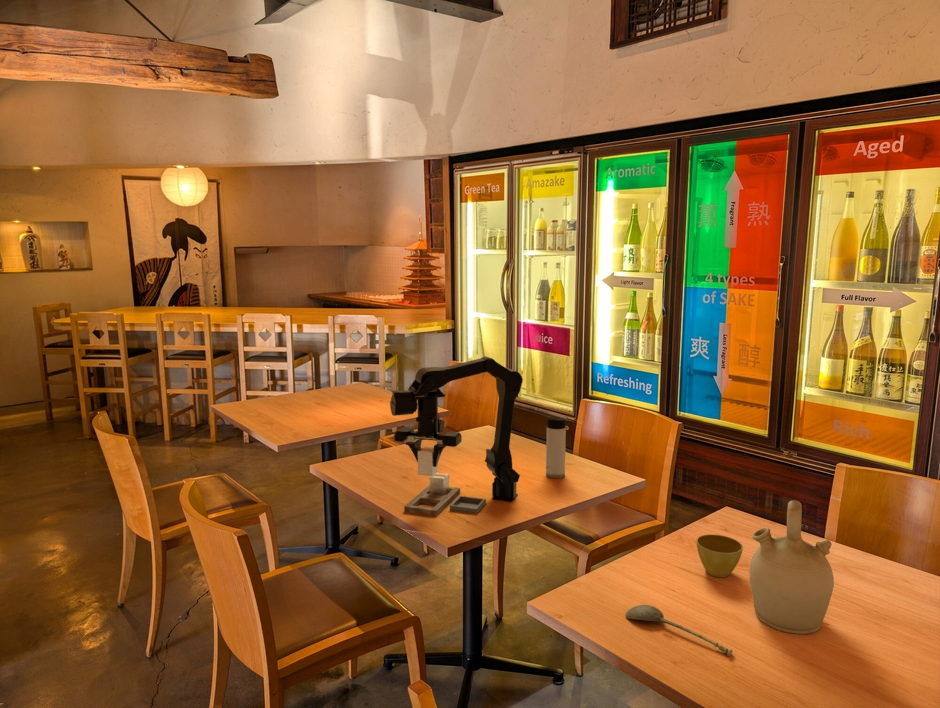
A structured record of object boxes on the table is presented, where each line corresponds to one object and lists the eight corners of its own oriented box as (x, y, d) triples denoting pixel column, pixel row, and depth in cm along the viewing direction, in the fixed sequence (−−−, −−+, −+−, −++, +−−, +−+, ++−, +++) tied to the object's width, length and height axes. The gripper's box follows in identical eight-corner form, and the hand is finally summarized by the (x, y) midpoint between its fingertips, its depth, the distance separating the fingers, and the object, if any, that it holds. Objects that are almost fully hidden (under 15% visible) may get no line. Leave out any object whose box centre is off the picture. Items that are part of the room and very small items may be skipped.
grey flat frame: (460, 494, 202) (460, 488, 201) (436, 517, 184) (436, 510, 184) (430, 490, 205) (430, 484, 205) (404, 512, 187) (404, 506, 187)
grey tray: (485, 504, 193) (485, 498, 193) (476, 515, 186) (476, 509, 185) (459, 501, 196) (459, 495, 196) (449, 511, 188) (449, 505, 188)
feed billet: (437, 471, 189) (437, 447, 188) (432, 476, 185) (432, 451, 184) (423, 469, 191) (423, 446, 190) (417, 474, 187) (417, 450, 185)
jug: (733, 618, 133) (741, 501, 129) (764, 590, 144) (772, 482, 140) (814, 650, 122) (825, 524, 119) (840, 618, 133) (851, 501, 129)
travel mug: (542, 476, 217) (543, 418, 214) (549, 471, 223) (550, 413, 220) (560, 479, 214) (561, 420, 211) (567, 473, 220) (568, 416, 217)
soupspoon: (636, 608, 139) (619, 622, 134) (636, 594, 138) (618, 607, 134) (738, 650, 123) (722, 667, 119) (738, 633, 123) (722, 650, 118)
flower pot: (719, 559, 159) (721, 531, 158) (751, 578, 150) (753, 548, 148) (685, 566, 155) (687, 537, 154) (715, 586, 146) (717, 556, 145)
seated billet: (449, 495, 200) (448, 473, 199) (443, 501, 196) (443, 478, 195) (435, 494, 202) (435, 471, 201) (430, 499, 198) (429, 476, 197)
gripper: (467, 408, 190) (467, 460, 193) (408, 404, 196) (408, 454, 198) (455, 417, 180) (455, 472, 182) (392, 412, 185) (393, 465, 187)
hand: (427, 465), depth 188 cm, fingers closed on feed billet, 4 cm apart
